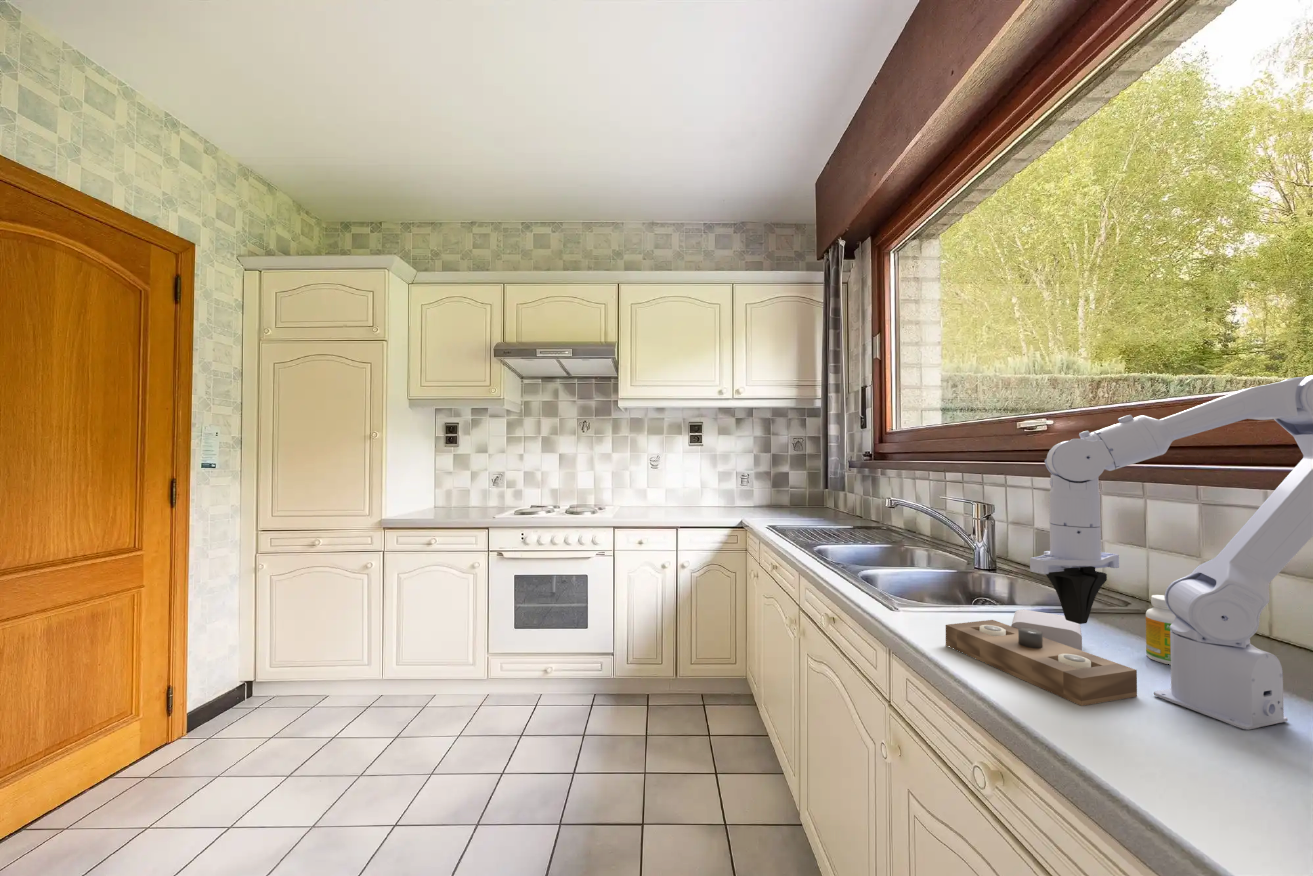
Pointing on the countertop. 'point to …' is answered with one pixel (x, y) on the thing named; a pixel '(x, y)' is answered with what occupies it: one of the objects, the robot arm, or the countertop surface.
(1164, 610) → the supplement bottle
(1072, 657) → the near knob
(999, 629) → the far knob
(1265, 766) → the countertop surface
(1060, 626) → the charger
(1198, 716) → the countertop surface
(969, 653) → the knob mount
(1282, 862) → the countertop surface
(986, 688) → the countertop surface
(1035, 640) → the pot knob
